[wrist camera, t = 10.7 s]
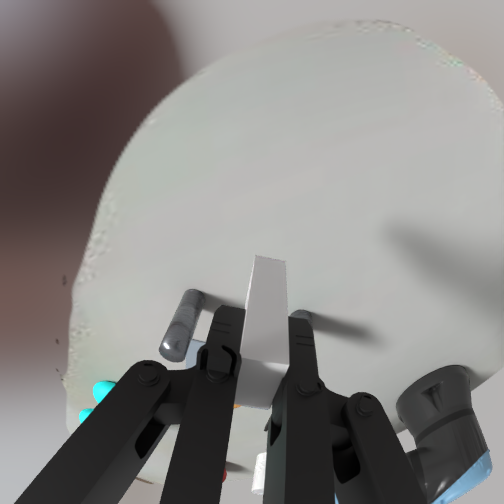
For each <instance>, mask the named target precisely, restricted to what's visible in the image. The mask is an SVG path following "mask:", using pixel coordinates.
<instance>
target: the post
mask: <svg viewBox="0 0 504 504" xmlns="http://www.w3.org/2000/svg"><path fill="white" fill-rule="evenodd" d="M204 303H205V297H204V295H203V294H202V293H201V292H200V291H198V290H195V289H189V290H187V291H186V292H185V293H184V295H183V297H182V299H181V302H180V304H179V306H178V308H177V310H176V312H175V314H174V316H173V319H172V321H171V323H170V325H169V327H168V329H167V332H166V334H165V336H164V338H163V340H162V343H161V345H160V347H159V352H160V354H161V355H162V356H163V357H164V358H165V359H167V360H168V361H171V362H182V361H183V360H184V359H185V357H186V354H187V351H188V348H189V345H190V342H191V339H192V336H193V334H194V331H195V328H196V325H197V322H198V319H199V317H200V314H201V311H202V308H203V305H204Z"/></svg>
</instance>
